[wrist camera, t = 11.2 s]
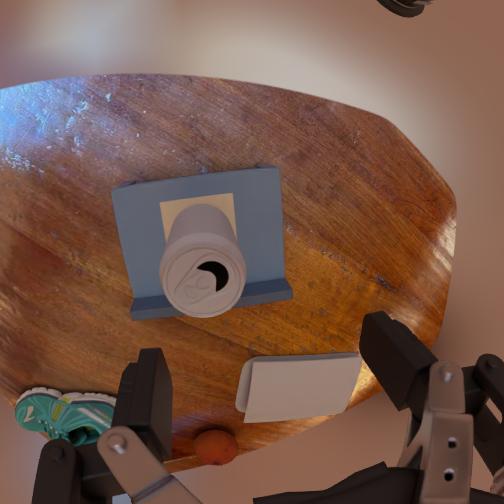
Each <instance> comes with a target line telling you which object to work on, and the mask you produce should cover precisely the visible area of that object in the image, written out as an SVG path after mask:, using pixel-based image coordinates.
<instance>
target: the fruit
mask: <svg viewBox="0 0 504 504" xmlns="http://www.w3.org/2000/svg"><path fill="white" fill-rule="evenodd" d="M194 451H195V454H196V456H197V457H198V458H199V459H200V460H201V461H203V462H204V463H206V464H209V465H217V466H218V465H223V464H227V463H229V462H231V461H232V460H233V459H234V458H235V457H236V455H237V453H238V443H237V441H236V440H235V438H234V437H233V436H232V435H230V434H229V433H227V432H225V431H222V430H216V429H215V430H214V429H213V430H209V431H206V432H203V433H201V434H200V435H199V436H198V437H197V438H196V439H195V441H194Z"/></svg>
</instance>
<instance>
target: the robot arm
mask: <svg viewBox="0 0 504 504" xmlns="http://www.w3.org/2000/svg"><path fill="white" fill-rule="evenodd" d="M391 1H392V2H393V3H395V4H396V5H398V6H400V7H402V8H405V9H415V8H417V7H419V6H420V5H422V4H424V5H429V4H431V3H430V1H432V0H391ZM359 350H360V354H361V356H362V358H363V359H364V361H365V362H366V364H367V365H368V367H369V368H370V370H371V371H372V373H373V374H374V375H375V377H376V378H377V380H378V381H379V383H380V384H381V386H382V387H383V389H384V390H385V392H386V393H387V394H388V396H389V397H390V399H391V401H392V402H393V404H394V405H395V407H396V408H397V410H398V411H401V410H403V409H406V408H408V407H409V408H410V410H411V412H410V414H409V419H408V425H407V431H406V436H405V441H404V446H403V451H402V454H401V457H400V459H399V461H398V464H397V466H396V467H389V468H387V466H386V464H385V462H384V461H383V462H381V463H379V464H376V465H374V466H371V467H369V468H366V469H363V470H361V471H358V472H355V473H354V474H352V475H350V476H349V477H347V478H346V479H344V480H342V481H341V482H339V483H337V484H335V485H334V486H332V487H330V488H328V489H326V490H323V491H305V492H285V493H280V494H275V495H270V496H264V497H258V498H253V503H254V504H504V362H503V361H502V360H501V359H500V358H499V357H497V356H495V355H493V354H483V355H481V356H480V357H479V358H478V360H477V363H476V365H475V366H469V367H463V368H460V367H459V366H458V365H457V364H456V363H454V362H452V361H447V360H440V361H439V360H438V359H437V358H436V357H435V356H434V355H433V354H432V353H431V352H430V350H429V349H428V348H427V347H426V346H425V345H424V344H423V343H422V342H421V341H420V340H418V338H417V337H416V336H415V335H414V334H412V331H411V330H410V329H409V328H408V327H407V326H406V325H404V324H403V323H401V322H399V321H397V320H395V319H394V320H392V319H391V318H390V317H389V316H388V315H387V314H386V313H385V312H384V311H378V312H374V313H370V314H366V315H365V316H364V319H363V324H362V330H361V336H360V342H359ZM172 397H173V386H172V379H171V376H170V373H169V370H168V367H167V364H166V361H165V358H164V355H163V352H162V349H161V348H147V349H141V350H140V354H139V359H138V363H129V365H128V366H127V367H126V369H125V370H124V371H123V373H122V377H121V381H120V385H119V390H118V394H117V399H116V404H115V408H114V413H113V418H112V423H111V427H110V428H109V429H107V430H105V431H104V432H103V433H102V434H101V435H100V437H99V438H98V441H96V442H93V443H89V444H84V445H79V446H73V445H72V444H71V443H70V442H69V441H68V440H65V439H62V438H57V439H53V440H50V441H49V442H47V443H46V444H45V445H44V447H43V449H42V451H41V455H40V459H39V464H38V468H37V474H36V479H35V484H34V491H33V497H32V504H112V496H116V495H120V494H125V493H127V494H128V495H129V497H130V498H131V502H132V504H203V503H202V502H201V501H200V500H198V499H197V498H196V497H195V496H194V495H193V494H192V493H191V492H190V491H189V490H188V489H187V488H186V487H185V486H184V485H183V484H182V483H181V482H180V481H179V480H178V479H177V478H176V477H174V476H173V475H171V474H170V473H169V472H168V471H167V470H166V469H165V467H164V466H163V465H162V460H171V433H172ZM489 398H490V399H491V400H492V401H493V403H494V404H495V405H496V407H497V408H498V409H499V410H500V412H501V413H502V422H501V424H500V423H499V421H498V420H497V419H496V417H495V416H494V415H493V413H492V412H491V411H490V409H489V408H488V407H487V405H486V402H487V401H488V399H489ZM473 445H474V446H475V448H476V449H477V451H478V452H479V454H480V456H481V457H482V459H483V461H484V462H485V464H486V465H487V467H488V469H489V470H490V472H491V474H492V475H493V477H494V479H493V484H492V486H491V488H490V492H491V493H489V492H485V491H482V490H477V489H474V488H471V487H470V486H471V476H472V461H473Z"/></svg>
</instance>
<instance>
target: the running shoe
mask: <svg viewBox="0 0 504 504" xmlns="http://www.w3.org/2000/svg"><path fill="white" fill-rule="evenodd" d="M116 399H117V398H116V397H114V396H112V397H111V396H109V395H108V394H103V393H97V394H96V393H95V392H92V393H90V392H86V393H85V394H82V393H78V392H73V393H66V394H64V395H63V396H62V393H61V392H60V391H57V390H54V389H48V390H47V388H46V387H39V388H38V387H36V388H33V389H32V391H31V390H27V391H26V392H25V393H24V394H22V395H21V396H20V399H18V400H17V404H16V407H15V417H16V420H17V422H18V423H19V425H20V426H21V427H22V428H24V429H26V430H29V431H35V432H45V433H47V434H48V436H49V437H50V438H51V439H52V440H53V439H57V438H62V439H65V440H68V441H69V442H70V443H71V444H72V445H73V446H79V445H84V444H89V443H93V442H96V441H98V438H99V437H100V435H101V434H102V433H103V432H104V431H105V430H107V429H109V428H110V427H111V423H112V418H113V413H114V408H115V404H116Z"/></svg>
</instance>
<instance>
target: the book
mask: <svg viewBox="0 0 504 504" xmlns="http://www.w3.org/2000/svg"><path fill="white" fill-rule="evenodd" d="M362 359H363V358H362V356H359V355H358V353H354V352H349V353H335V354H319V355H295V356H258V357H254V358H251V359H250V360H248V361H247V362H246V363H245V364H244V366H243V368H242V371H241V376H240V381H239V386H238V392H237V397H236V402H235V405H236V409H238V410H239V411H240V412H246V413H245V418H244V423H255V422H271V421H284V420H294V419H303V418H312V417H319V416H326V415H332V414H339V413H343V412H344V410H345V409H346V407H347V405H348V403H349V400H350V398H351V396H352V393H353V391H354V388H355V385H356V382H357V379H358V376H359V373H360V368H361V364H362Z"/></svg>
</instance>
